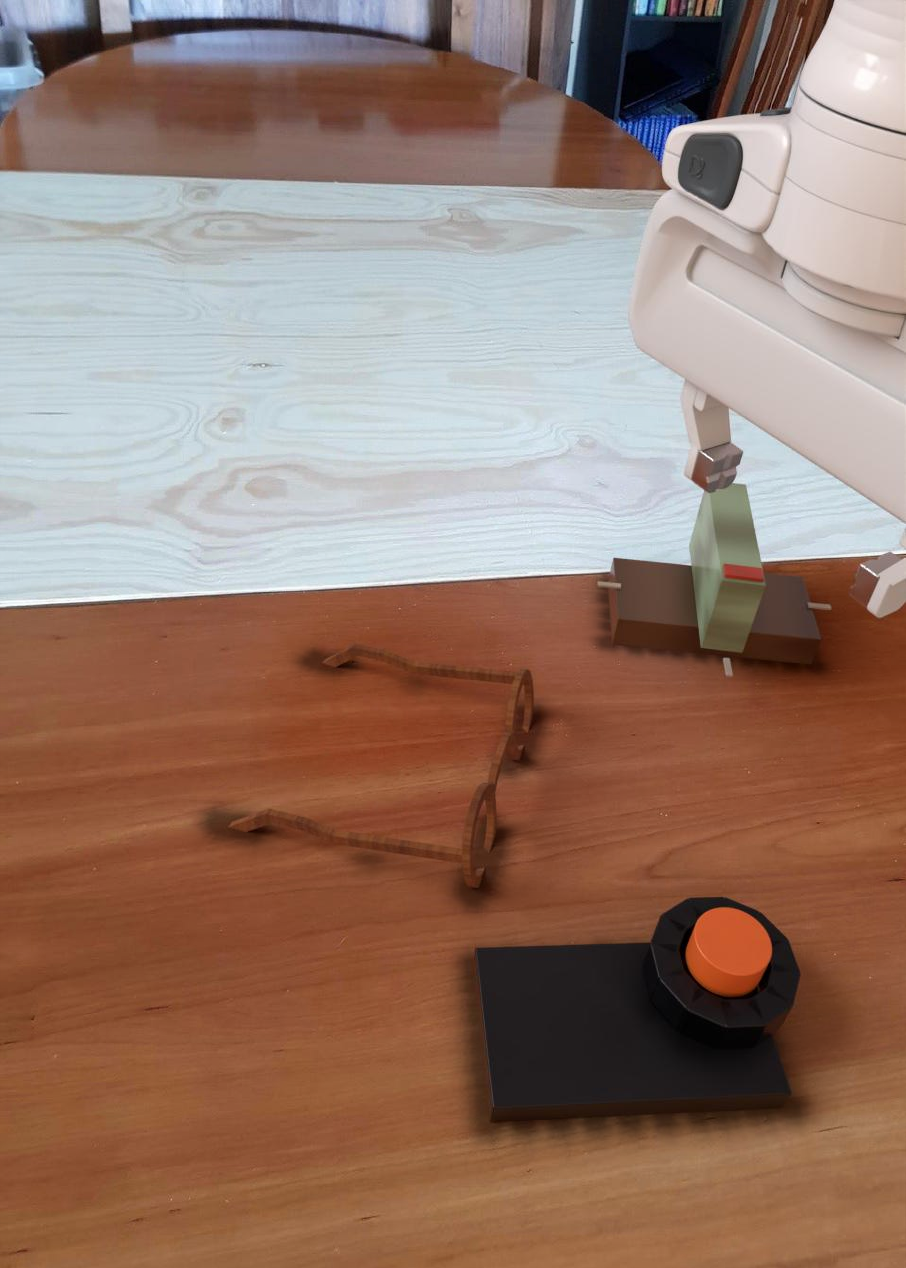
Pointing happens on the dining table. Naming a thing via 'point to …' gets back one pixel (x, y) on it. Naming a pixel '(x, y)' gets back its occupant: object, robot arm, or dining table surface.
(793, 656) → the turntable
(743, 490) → the green battery pack
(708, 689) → the dining table surface
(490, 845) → the glasses
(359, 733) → the dining table surface
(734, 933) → the button
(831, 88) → the robot arm
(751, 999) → the control block
